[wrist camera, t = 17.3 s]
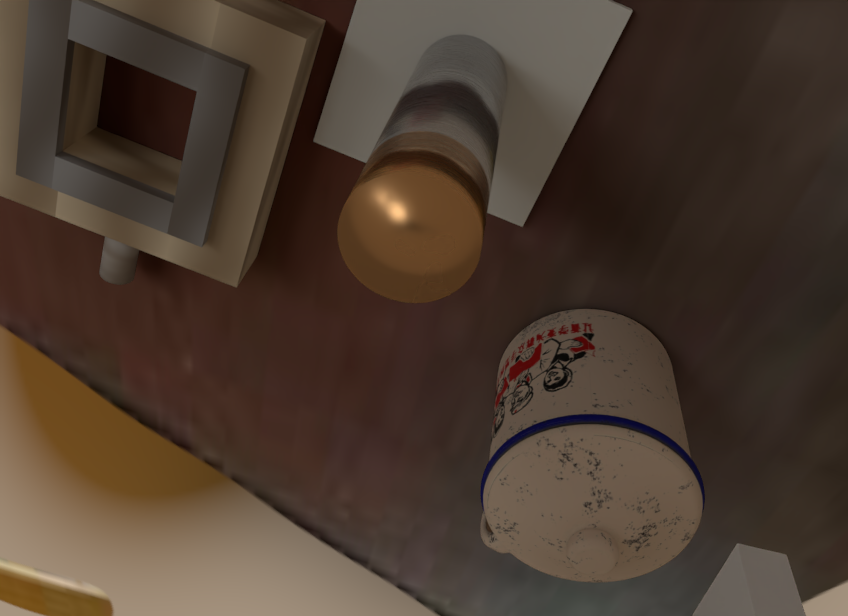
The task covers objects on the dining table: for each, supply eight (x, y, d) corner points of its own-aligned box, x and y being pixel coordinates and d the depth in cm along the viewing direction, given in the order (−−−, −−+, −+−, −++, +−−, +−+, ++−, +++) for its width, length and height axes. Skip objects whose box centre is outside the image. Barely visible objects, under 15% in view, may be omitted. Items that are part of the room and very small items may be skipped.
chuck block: (15, 214, 39) (-30, 248, 36) (40, -101, 31) (-15, -90, 28) (243, 302, 40) (218, 343, 37) (325, 20, 32) (302, 43, 29)
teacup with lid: (573, 266, 36) (579, 434, 27) (717, 369, 38) (772, 560, 29) (426, 416, 43) (389, 597, 33) (558, 498, 45) (559, 692, 35)
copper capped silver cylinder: (424, 24, 31) (347, 157, 19) (517, 46, 31) (496, 192, 19) (407, 115, 33) (329, 285, 22) (495, 136, 33) (464, 316, 22)
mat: (315, 138, 35) (313, 141, 34) (388, -98, 29) (386, -97, 29) (522, 223, 36) (522, 227, 35) (631, 9, 30) (632, 11, 30)
